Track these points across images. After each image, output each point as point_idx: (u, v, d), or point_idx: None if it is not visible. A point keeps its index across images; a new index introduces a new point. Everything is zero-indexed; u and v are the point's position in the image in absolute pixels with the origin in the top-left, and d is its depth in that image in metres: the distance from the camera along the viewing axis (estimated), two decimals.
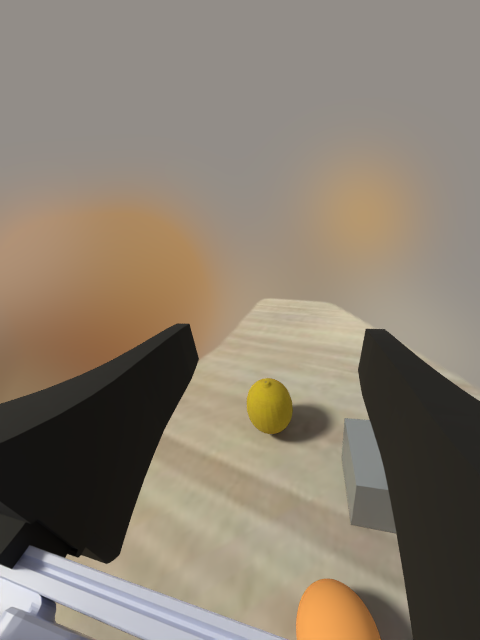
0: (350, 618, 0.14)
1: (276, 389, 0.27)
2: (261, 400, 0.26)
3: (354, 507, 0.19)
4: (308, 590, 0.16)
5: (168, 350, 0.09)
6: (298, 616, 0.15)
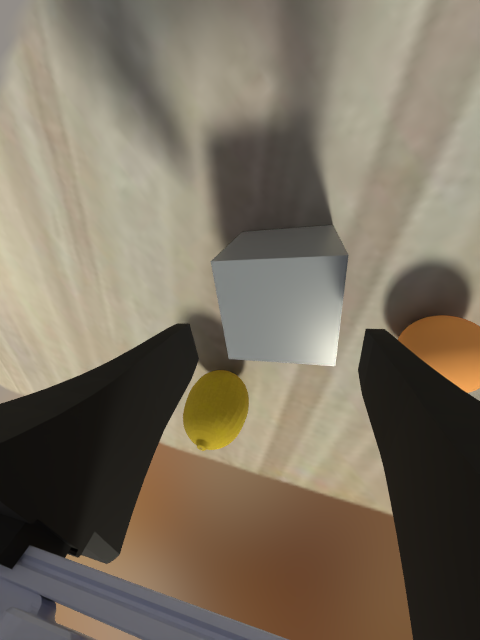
0: (454, 371, 0.13)
1: (206, 432, 0.18)
2: (227, 441, 0.19)
3: None
4: None
5: (168, 350, 0.09)
6: None
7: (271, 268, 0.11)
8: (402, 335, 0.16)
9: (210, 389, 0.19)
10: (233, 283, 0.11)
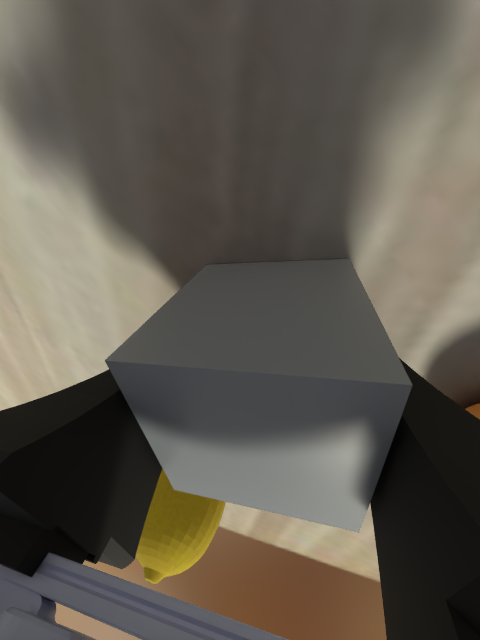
0: None
1: (156, 559, 0.12)
2: (191, 564, 0.13)
3: None
4: None
5: None
6: None
7: (228, 386, 0.05)
8: None
9: (168, 483, 0.13)
10: (156, 400, 0.06)
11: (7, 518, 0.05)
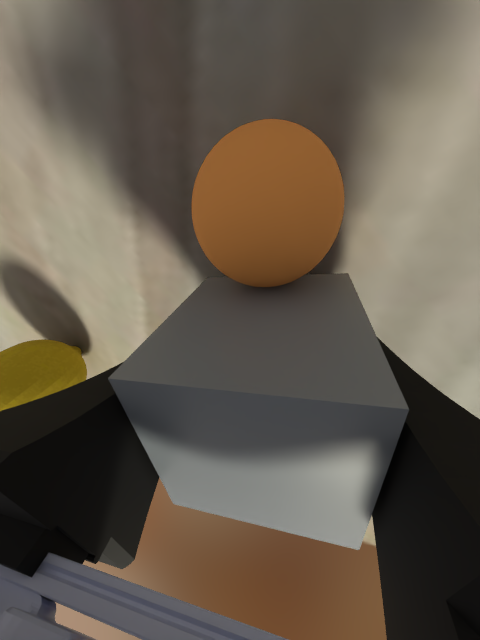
0: None
1: None
2: None
3: None
4: (201, 216, 0.07)
5: None
6: (239, 231, 0.06)
7: (228, 406, 0.05)
8: None
9: None
10: (158, 417, 0.06)
11: (7, 518, 0.05)
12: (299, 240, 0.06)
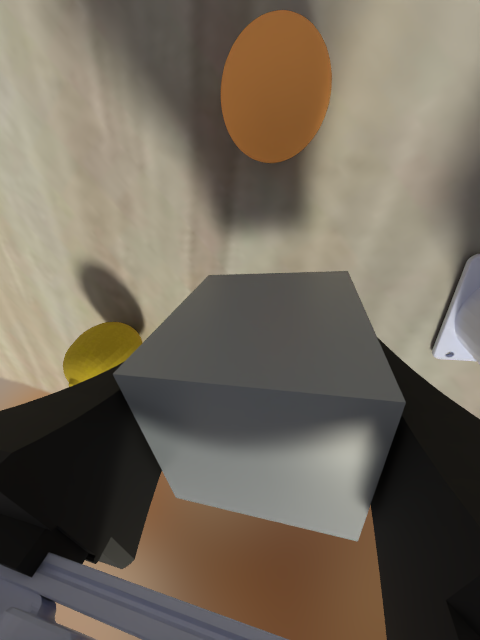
0: None
1: (76, 370, 0.18)
2: None
3: None
4: None
5: None
6: None
7: (231, 400, 0.05)
8: (224, 116, 0.11)
9: (90, 334, 0.20)
10: (162, 411, 0.06)
11: (7, 518, 0.05)
12: None
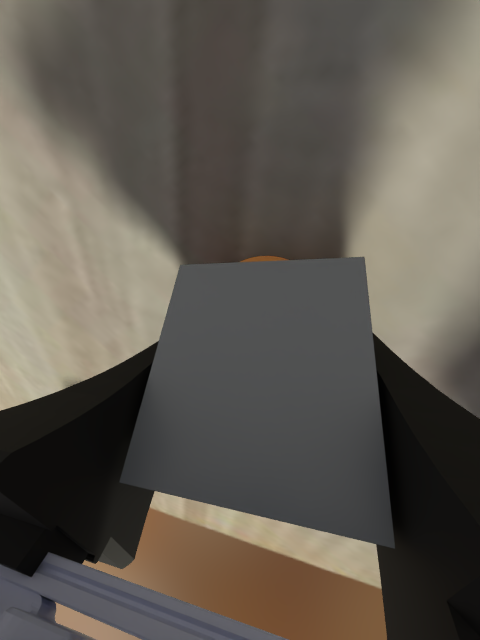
0: None
1: None
2: None
3: None
4: None
5: None
6: None
7: None
8: None
9: None
10: None
11: (7, 518, 0.05)
12: None
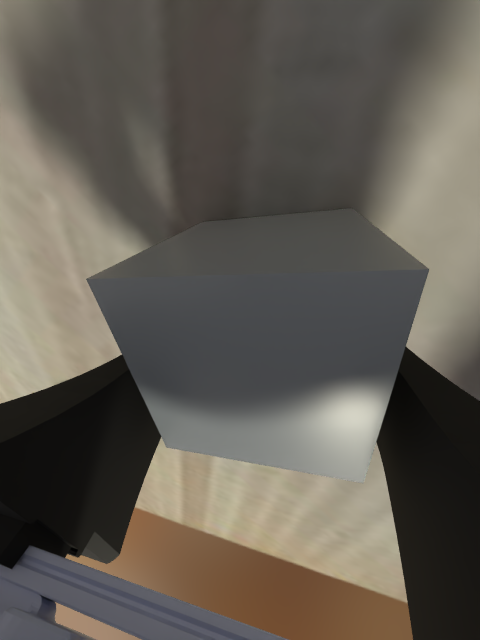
0: None
1: None
2: None
3: None
4: None
5: None
6: None
7: (220, 298, 0.04)
8: None
9: None
10: (145, 327, 0.05)
11: None
12: None
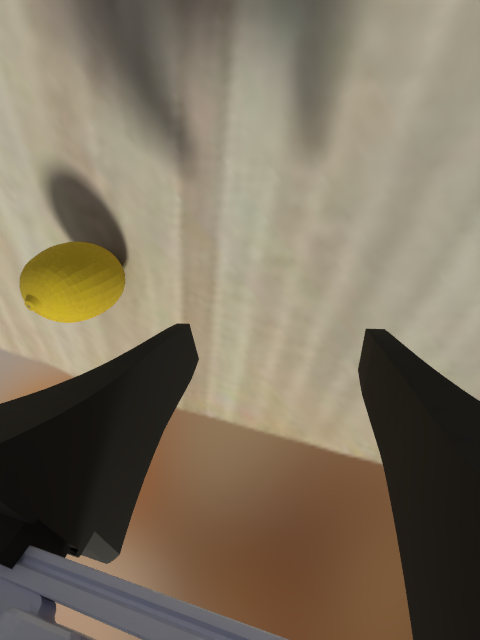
0: None
1: (33, 284, 0.14)
2: (68, 303, 0.15)
3: None
4: None
5: (168, 350, 0.09)
6: None
7: None
8: None
9: (55, 246, 0.16)
10: None
11: None
12: None
